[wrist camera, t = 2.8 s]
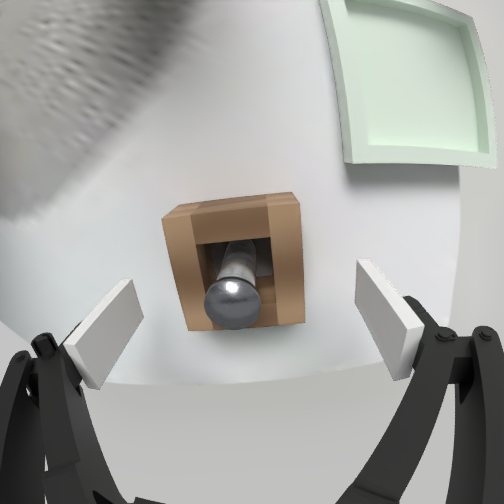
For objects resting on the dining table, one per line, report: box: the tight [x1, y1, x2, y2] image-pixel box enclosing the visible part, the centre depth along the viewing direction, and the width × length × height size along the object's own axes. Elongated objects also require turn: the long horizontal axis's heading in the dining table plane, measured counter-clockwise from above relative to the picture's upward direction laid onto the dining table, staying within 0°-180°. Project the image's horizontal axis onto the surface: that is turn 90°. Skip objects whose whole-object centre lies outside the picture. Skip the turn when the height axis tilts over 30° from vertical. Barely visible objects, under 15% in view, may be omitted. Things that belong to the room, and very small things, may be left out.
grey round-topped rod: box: [204, 239, 261, 330], centre depth 17 cm, size 3×3×8 cm
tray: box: [319, 0, 497, 169], centre depth 14 cm, size 14×14×2 cm
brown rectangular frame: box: [161, 192, 305, 331], centre depth 19 cm, size 10×8×4 cm
